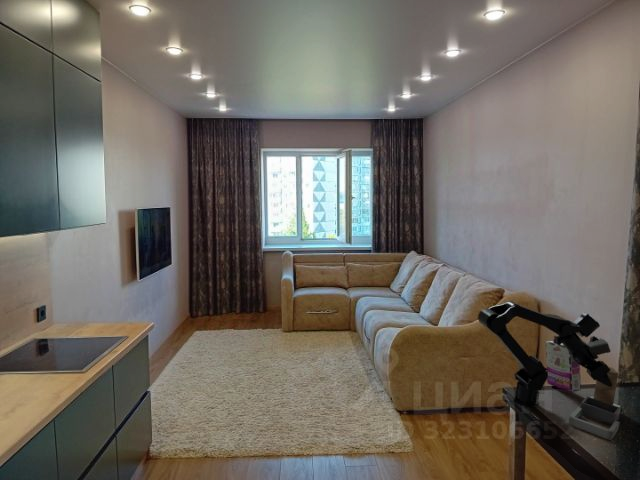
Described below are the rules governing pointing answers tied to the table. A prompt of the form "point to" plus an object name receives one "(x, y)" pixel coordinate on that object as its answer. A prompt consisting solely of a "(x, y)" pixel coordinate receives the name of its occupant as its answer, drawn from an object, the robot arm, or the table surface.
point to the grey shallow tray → (592, 425)
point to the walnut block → (607, 388)
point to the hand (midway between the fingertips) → (605, 380)
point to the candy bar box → (562, 367)
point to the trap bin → (600, 410)
